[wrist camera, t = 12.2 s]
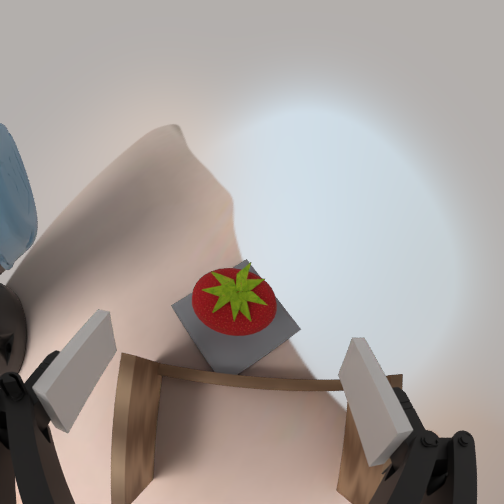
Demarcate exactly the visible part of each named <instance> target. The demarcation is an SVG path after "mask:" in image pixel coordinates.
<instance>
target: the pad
mask: <svg viewBox="0 0 504 504" xmlns="http://www.w3.org/2000/svg"><path fill="white" fill-rule="evenodd" d="M248 264H249V262H248V260H247V259H246V260H244V261H243V262H241V263H240V264H238V265H236V266H235V267H233V268H236V269H243V268H244V267H245V266H247V265H248ZM249 272H251V273H254V274H256V275H257V276H259V275H258V273H257V272H256V271H255V270H254V268H253V267H252V266H251V265H250V269H249ZM259 277H260V276H259ZM192 293H193V292H192ZM192 293H191V294H189V295H188V296H186V297H184V298H183V299H181V300H179V301H178V302H176V303H175V304H173V305H171V306H172V308H173V309H174V311H175V313H176V314H177V316H178V318H179V319H180V321H181V322H182V324H183V326H184V327H185V329H186V330H187V332H188V333H189V335H190V337H191V338H192V340H193V341H194V343H195V344H196V346H197V347H198V349H199V350H200V352H201V353H202V355H203V356H204V358H205V359H206V360H207V362H208V363H209V365H210V366H211V368H212V369H213V371H214V372H216V373H224V374H233V375H238V374H239V373H241V372H242V371H244V370H245V369H247V368H248V367H250V366H251V365H253V364H254V363H255V362H257V361H258V360H260V359H261V358H263V357H264V356H265V355H267V354H268V353H270V352H271V351H272V350H274V349H275V348H277V347H278V346H279V345H281V344H282V343H283V342H285V341H286V340H287V339H289V338H290V337H291V336H293V335H294V334H295V333H297V332H298V331H299V330H300V328H299V326H298V325H297V324H296V322H295V321H294V320H293V319H292V317H291V316H290V315H289V314H288V312H287V311H286V310H285V308H284V307H283V306H282V304H281V303H280V302H279V301H278V299H277V298H276V297H275V298H276V303H277V311H276V315H275V317H274V319H273V321H272V322H271V323H270V324H269V325H268V326H267V327H266V328H264V329H263V330H261V331H260V332H257V333H254V334H251V335H246V336H232V335H226V334H222V333H219V332H217V331H215V330H212V329H210V328H209V327H208V326H206V325H205V324H204V323H203V322H202V321H201V320H200V319H199V318H198V317H197V315H196V314H195V312H194V309H193V307H192Z"/></svg>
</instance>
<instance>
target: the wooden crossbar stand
mask: <svg viewBox="0 0 504 504" xmlns="http://www.w3.org/2000/svg"><path fill="white" fill-rule="evenodd" d="M162 375H163V376H168V377H173V378H178V379H184V380H189V381H196V382H202V383H209V384H216V385H224V386H233V387H243V388H254V389H267V390H287V391H344V389H343V387H342V384H341V381H340V380H308V379H281V378H265V377H253V376H242V375H233V374H224V373H216V372H209V371H202V370H195V369H189V368H183V367H178V366H172V365H167V364H162V363H158V362H154V361H151V360H147V359H144V358H141V357H138V356H134V355H130V354H126V353H122V354H121V361H120V367H119V374H118V381H117V389H116V397H115V407H114V417H113V430H112V447H111V504H131V503H132V502H133V501H134V500H135V499H136V498H137V497H138V496H139V494H140V493H141V492H142V491H143V490H144V489H145V488H146V487H147V486H148V485H149V483H150V482H151V481H152V480H153V470H154V453H155V439H156V428H157V417H158V408H159V399H160V390H161V382H162ZM386 378H387V379H388V381H389V383H390V385H391V387H392V388H393V387H399V388H400V389H402V378H403V375H402V374H398V375H388V376H386ZM391 463H392V462H391V459H390V458H389V459H388V460H387V461H386V462H385V463H384V464H381V465H376V466H371V467H369V465H368V462H367V459H366V455H365V452H364V449H363V446H362V443H361V440H360V437H359V434H358V430H357V427H356V424H355V421H354V418H353V415H352V413H351V410H350V407H349V404H348V402H347V415H346V425H345V435H344V444H343V452H342V459H341V466H340V473H339V479H338V485H337V491H338V492H339V493H340V494H341V495H342V496H344V497H345V498H346V499H347V500H348V501H349V502H351V503H352V504H369V502H370V500H371V499H372V497H373V495H374V493H375V492H376V490H377V488H378V486H379V484H380V483H381V481H382V479H383V477H384V475H385V473H386V472H385V473H384V474H382V472H383V471H384V470H385V469H386V468H387V467H388V466H389V465H390V464H391Z"/></svg>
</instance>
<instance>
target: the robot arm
mask: <svg viewBox="0 0 504 504" xmlns="http://www.w3.org/2000/svg"><path fill="white" fill-rule="evenodd" d="M37 228H38V221H37V212H36V206H35V202H34V198H33V194H32V190H31V187H30V183H29V180H28V177H27V173H26V170H25V168H24V165H23V162H22V159H21V156H20V154H19V151H18V149H17V146H16V144H15V142H14V140H13V137H12V136H11V134H10V133H8V130H7V128H6V127H5V125H3V124H2V123H0V275H1V274H2V273H3V272H4V271H5V270H9V269H11V268H12V266H13V264H14V262H15V261H16V260H17V259H18V258H19V257H20V256H21V255H23V254H24V253H25V252H26V251H27V250H28V249H29V248H30V247H31V246H32V244H33V243H34V241H35V238H36V235H37ZM25 347H26V322H25V315H24V311H23V308H22V305H21V302H20V300H19V299H18V297H17V295H16V294H15V293H14V292H13V291H12V290H11V289H9V288H8V287H6V286H5V285H3V284H1V283H0V504H16V491H15V477H16V482H17V486H18V489H19V493H20V496H21V500H22V503H23V504H75V502H74V500H73V498H72V495H71V493H70V490H69V488H68V485H67V483H66V480H65V477H64V474H63V472H62V469H61V466H60V463H59V460H58V456H57V453H56V450H55V446H54V442H53V439H52V435H51V431H50V428H49V425H48V424H49V422H50V420H51V421H52V423H53V424H54V426H55V427H56V428H58V429H60V430H62V431H64V432H66V433H69V431H70V429H71V427H72V425H73V424H74V422H75V420H76V418H77V416H78V415H79V413H80V411H81V409H82V408H83V406H84V404H85V402H86V401H87V399H88V397H89V395H90V394H91V392H92V390H93V389H94V387H95V385H96V384H97V382H98V380H99V379H100V377H101V375H102V374H103V372H104V370H105V369H106V367H107V366H108V364H109V362H110V361H111V359H112V358H113V356H114V354H115V353H116V351H117V349H116V344H115V339H114V334H113V329H112V323H111V317H110V312H109V311H104V310H99V309H98V310H97V311H96V312H95V313H94V314H93V316H92V317H91V318H90V319H89V320H88V321H87V322H86V323H85V324H84V326H83V327H82V328H81V329H80V330H79V331H78V332H77V333H76V335H75V336H74V337H73V338H72V339H71V340H70V341H69V343H68V344H67V345H66V346H65V347H64V348H63V350H62V351H61V352H59V351H57V350H56V351H54V352H52V353H51V354H49V355H48V356H47V357H46V358H45V359H44V360H43V363H41V364H40V365H39V366H38V368H37V369H36V370H35V371H34V372H33V374H32V375H31V376H30V377H29V378H28V380H27V381H26V382H25V383H23V381H22V379H21V377H20V375H19V374H18V372H19V369H20V367H21V364H22V361H23V358H24V353H25ZM338 375H339V378H340V381H341V384H342V387H343V389H344V392H345V395H346V398H347V401H348V404H349V407H350V410H351V413H352V415H353V418H354V421H355V424H356V427H357V430H358V434H359V437H360V440H361V443H362V446H363V449H364V452H365V455H366V459H367V462H368V465H369V467H371V466H376V465H381V464H384V463H385V462H386V461H387V460H388V459H389V458H390V459H391V462H392V463H391V464H390V465H389V466H388V467H387V468H386V469H385V470H384V471H383V472H382V474H384V473H385V472H386V473H385V475H384V477H383V479H382V481H381V483H380V484H379V486H378V488H377V490H376V492H375V493H374V495H373V497H372V499H371V500H370V502H369V504H477V468H476V455H475V443H474V439H473V437H472V435H471V434H470V433H468V432H466V431H458V432H457V433H456V434H455V435H454V436H453V437H452V438H439V437H438V436H437V435H436V434H435V433H434V432H432V431H428V430H425V428H424V427H423V425H422V423H421V421H420V419H419V417H418V415H417V413H416V411H415V409H414V408H413V406H412V404H411V402H410V400H409V399H408V397H407V395H406V393H405V392H404V391H403V390H402V389H400V388H399V387H393V388H392V387H391V385H390V383H389V381H388V379H387V378H386V376H385V374H384V372H383V370H382V368H381V367H380V365H379V363H378V361H377V359H376V357H375V356H374V354H373V352H372V350H371V349H370V347H369V345H368V343H367V341H366V340H365V338H352V339H351V342H350V345H349V348H348V350H347V353H346V356H345V359H344V361H343V364H342V366H341V369H340V371H339V374H338Z"/></svg>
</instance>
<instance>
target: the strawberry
mask: <svg viewBox="0 0 504 504" xmlns="http://www.w3.org/2000/svg"><path fill="white" fill-rule="evenodd" d="M250 265H251V262H250V263H249V264H248V265H247V266H245V267H244V268H243V269H236V268H224V269H218V270H214V271H211V272H209V273H207V274H206V275H204V276H203V277H202V278H200V279H199V281H198V282H197V283H196V285H195V287H194V289H193V293H192V307H193V309H194V312H195V314H196V315H197V317H198V318H199V319H200V320H201V321H202V322H203V323H204V324H205V325H206V326H208V327H209V328H210V329H212V330H215V331H217V332H219V333H222V334H226V335H232V336H246V335H251V334H254V333H257V332H260V331H261V330H263V329H264V328H266V327H267V326H268V325H269V324H270V323H271V322H272V321H273V319H274V317H275V315H276V311H277V303H276V298H275V294H274V292H273V290H272V288H271V287H270V286H269V284H268V283H267V282H266V281H264V280H265V279H262V278H261V277H259V276H257V275H256V274H254V273H251V272H249V269H250Z"/></svg>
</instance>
